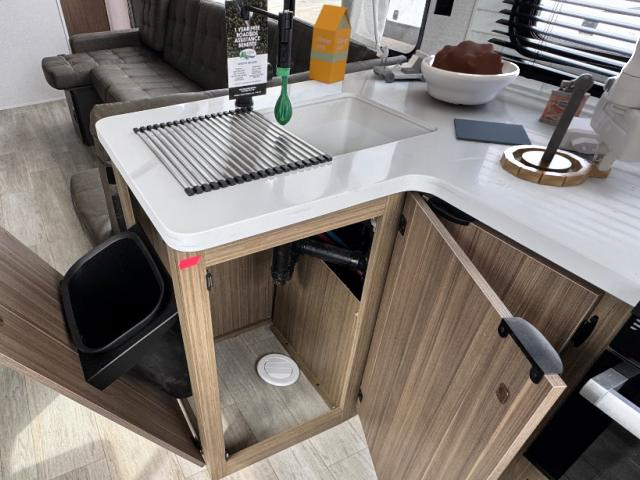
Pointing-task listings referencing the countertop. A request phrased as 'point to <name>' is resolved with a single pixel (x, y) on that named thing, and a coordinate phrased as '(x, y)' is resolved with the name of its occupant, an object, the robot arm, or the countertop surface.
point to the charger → (580, 137)
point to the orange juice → (330, 45)
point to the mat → (491, 132)
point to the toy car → (400, 66)
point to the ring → (550, 178)
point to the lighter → (560, 103)
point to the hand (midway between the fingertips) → (599, 166)
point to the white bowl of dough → (467, 73)
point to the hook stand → (559, 133)
